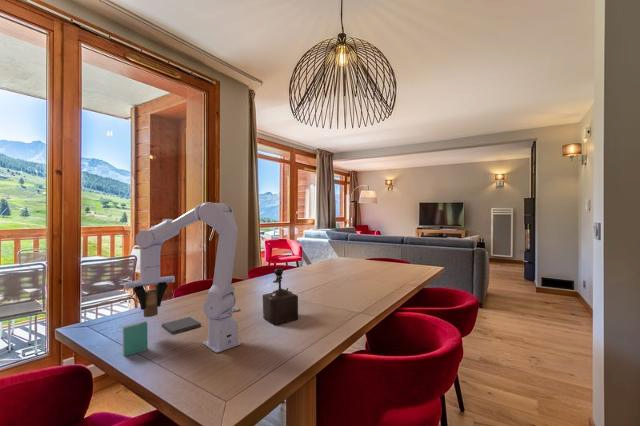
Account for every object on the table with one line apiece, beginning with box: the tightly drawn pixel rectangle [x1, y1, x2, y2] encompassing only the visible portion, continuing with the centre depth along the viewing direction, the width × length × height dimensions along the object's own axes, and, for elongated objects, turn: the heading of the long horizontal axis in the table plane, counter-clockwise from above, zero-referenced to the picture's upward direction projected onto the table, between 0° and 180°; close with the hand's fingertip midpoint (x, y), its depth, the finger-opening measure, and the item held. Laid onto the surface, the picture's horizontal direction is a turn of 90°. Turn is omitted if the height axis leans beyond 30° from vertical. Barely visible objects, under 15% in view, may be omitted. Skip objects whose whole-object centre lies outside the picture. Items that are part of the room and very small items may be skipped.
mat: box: [161, 316, 202, 335], centre depth 107 cm, size 10×10×1 cm
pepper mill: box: [262, 267, 299, 327], centre depth 115 cm, size 16×11×18 cm
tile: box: [122, 321, 149, 357], centre depth 87 cm, size 2×6×8 cm, turn 136°
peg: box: [143, 288, 159, 318], centre depth 97 cm, size 4×4×8 cm
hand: (150, 307), depth 97 cm, fingers closed on peg, 4 cm apart
